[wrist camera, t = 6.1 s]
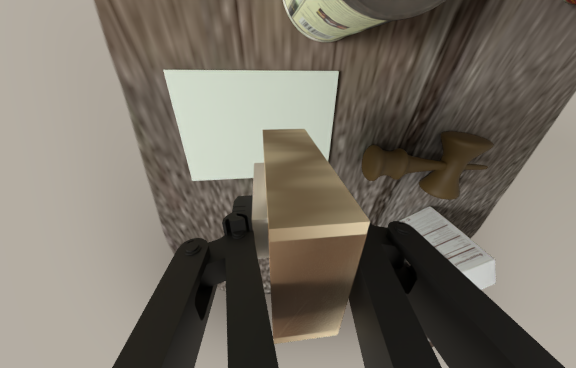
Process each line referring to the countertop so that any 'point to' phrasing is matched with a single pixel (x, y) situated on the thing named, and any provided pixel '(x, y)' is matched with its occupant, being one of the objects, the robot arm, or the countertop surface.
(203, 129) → the rubber mat
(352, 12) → the coffee can
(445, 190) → the kendama
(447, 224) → the supplement box
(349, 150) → the countertop surface
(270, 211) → the maple slab
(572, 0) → the soda can
